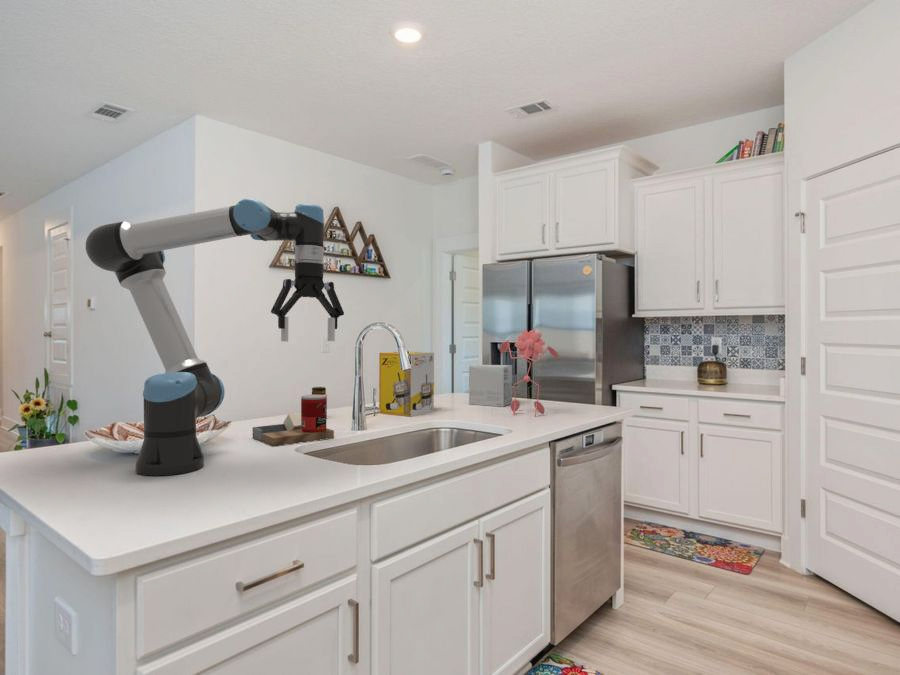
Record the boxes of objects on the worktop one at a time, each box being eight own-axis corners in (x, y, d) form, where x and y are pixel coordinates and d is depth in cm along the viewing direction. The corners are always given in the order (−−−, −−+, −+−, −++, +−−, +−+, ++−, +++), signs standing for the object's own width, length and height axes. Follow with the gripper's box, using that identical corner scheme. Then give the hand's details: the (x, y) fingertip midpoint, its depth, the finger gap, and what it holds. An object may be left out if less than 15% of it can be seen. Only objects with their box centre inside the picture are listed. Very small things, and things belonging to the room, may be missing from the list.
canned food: (320, 433, 173) (320, 397, 173) (296, 432, 175) (296, 397, 175) (330, 428, 181) (330, 394, 181) (307, 427, 183) (307, 394, 182)
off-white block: (294, 426, 179) (288, 413, 181) (289, 434, 181) (283, 422, 184) (306, 424, 182) (300, 412, 185) (301, 432, 185) (295, 420, 187)
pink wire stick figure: (555, 418, 219) (556, 329, 220) (493, 413, 231) (494, 329, 231) (565, 414, 233) (566, 330, 233) (506, 410, 245) (507, 329, 245)
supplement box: (512, 403, 263) (513, 365, 263) (503, 407, 251) (504, 366, 251) (478, 401, 270) (478, 363, 270) (468, 404, 258) (468, 365, 258)
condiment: (330, 417, 220) (330, 386, 220) (321, 420, 212) (321, 389, 212) (313, 416, 222) (313, 386, 221) (303, 420, 213) (303, 388, 213)
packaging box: (411, 416, 222) (411, 353, 222) (379, 413, 231) (379, 352, 230) (433, 411, 236) (434, 352, 235) (402, 408, 244) (403, 351, 244)
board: (273, 446, 165) (273, 438, 165) (261, 441, 172) (261, 433, 172) (333, 438, 178) (333, 430, 178) (320, 434, 185) (320, 426, 185)
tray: (261, 441, 172) (261, 430, 172) (252, 438, 178) (252, 427, 178) (320, 434, 185) (320, 423, 185) (310, 430, 191) (310, 420, 191)
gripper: (270, 257, 141) (269, 341, 141) (356, 265, 157) (355, 341, 157) (258, 259, 146) (258, 341, 147) (343, 267, 163) (342, 340, 163)
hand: (308, 341), depth 152 cm, fingers open, 13 cm apart
